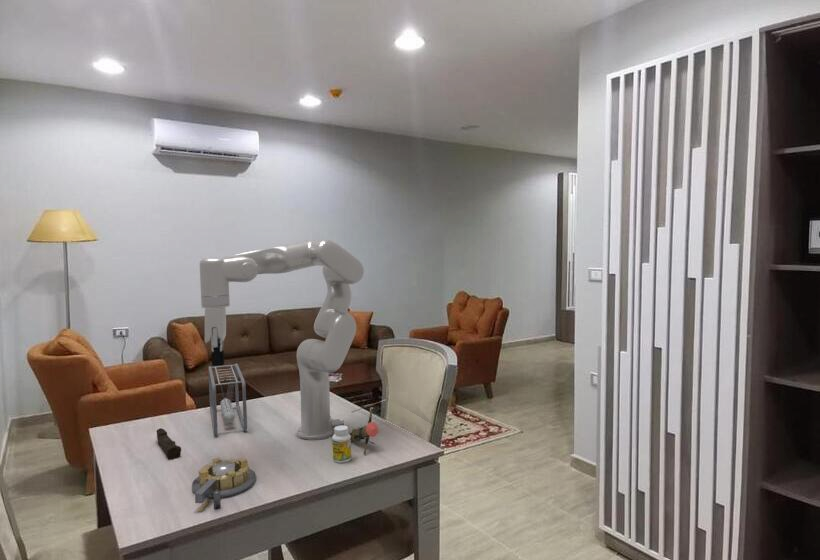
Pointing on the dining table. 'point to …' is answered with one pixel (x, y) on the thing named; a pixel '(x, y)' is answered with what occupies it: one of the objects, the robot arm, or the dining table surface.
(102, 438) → the dining table surface
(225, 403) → the newton's cradle
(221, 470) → the housing
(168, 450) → the hand tool
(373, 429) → the green toy propeller plane
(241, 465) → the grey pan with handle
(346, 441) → the supplement bottle
